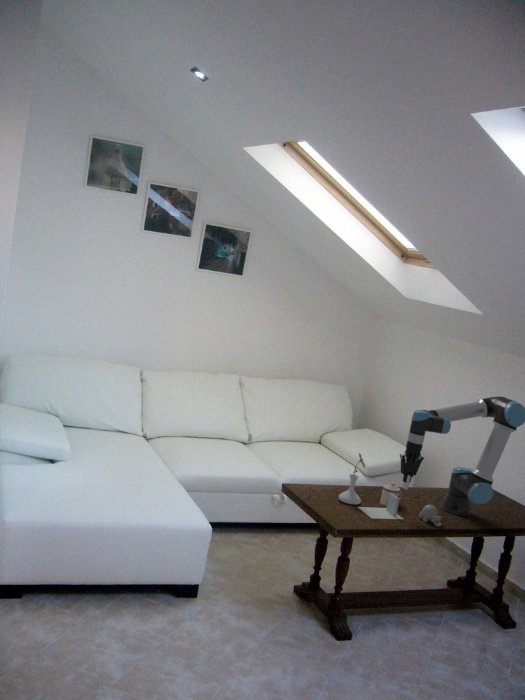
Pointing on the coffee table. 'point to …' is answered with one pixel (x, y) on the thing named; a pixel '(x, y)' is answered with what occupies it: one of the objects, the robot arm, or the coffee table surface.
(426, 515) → the chubby cartoon animal
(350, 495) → the flower in vase
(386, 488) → the teacup with lid
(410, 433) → the robot arm
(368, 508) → the mat
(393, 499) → the tile
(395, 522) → the coffee table surface
